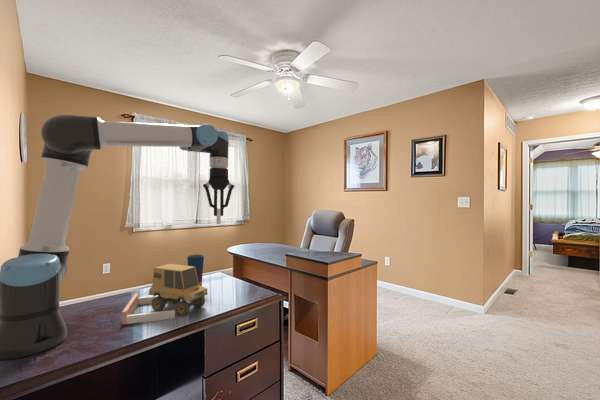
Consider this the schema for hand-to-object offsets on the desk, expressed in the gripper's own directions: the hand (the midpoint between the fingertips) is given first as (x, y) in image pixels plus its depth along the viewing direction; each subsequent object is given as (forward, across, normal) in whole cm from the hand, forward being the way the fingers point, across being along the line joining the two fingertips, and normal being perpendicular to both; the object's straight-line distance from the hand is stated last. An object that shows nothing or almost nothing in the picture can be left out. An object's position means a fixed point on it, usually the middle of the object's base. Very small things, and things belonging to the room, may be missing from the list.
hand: (218, 223), depth 119 cm
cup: (+30, -9, +7) cm, 32 cm away
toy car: (+30, -14, -13) cm, 36 cm away
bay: (+29, -22, -12) cm, 39 cm away
